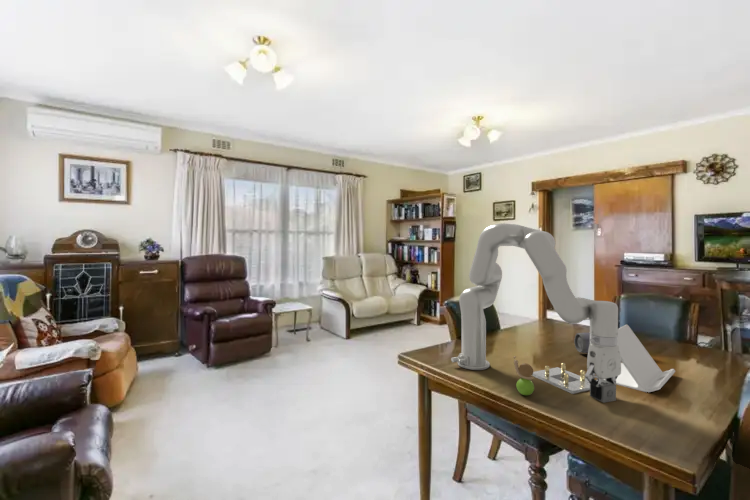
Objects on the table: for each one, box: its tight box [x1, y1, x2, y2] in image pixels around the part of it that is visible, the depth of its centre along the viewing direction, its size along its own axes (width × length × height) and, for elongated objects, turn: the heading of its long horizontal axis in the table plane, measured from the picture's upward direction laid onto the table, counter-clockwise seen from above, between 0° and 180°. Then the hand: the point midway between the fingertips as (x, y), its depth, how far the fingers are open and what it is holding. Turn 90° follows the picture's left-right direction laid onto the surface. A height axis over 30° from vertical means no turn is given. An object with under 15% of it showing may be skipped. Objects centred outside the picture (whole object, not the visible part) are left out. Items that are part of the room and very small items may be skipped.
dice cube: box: [589, 379, 617, 404], centre depth 115 cm, size 5×5×5 cm
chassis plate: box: [531, 362, 590, 395], centre depth 129 cm, size 14×18×4 cm
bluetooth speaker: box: [573, 332, 590, 354], centre depth 157 cm, size 23×9×10 cm, turn 84°
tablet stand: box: [603, 324, 676, 393], centre depth 131 cm, size 18×25×17 cm
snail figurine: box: [513, 355, 535, 396], centre depth 118 cm, size 5×6×12 cm
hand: (602, 395), depth 115 cm, fingers closed on dice cube, 5 cm apart
